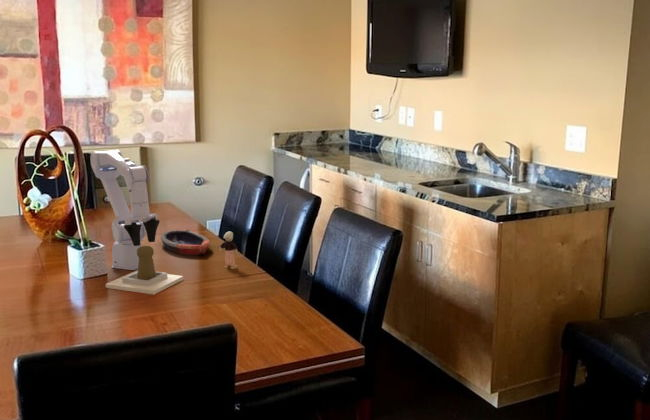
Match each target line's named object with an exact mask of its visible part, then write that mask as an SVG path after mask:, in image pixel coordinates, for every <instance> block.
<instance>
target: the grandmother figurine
mask: <svg viewBox="0 0 650 420" xmlns="http://www.w3.org/2000/svg"><path fill="white" fill-rule="evenodd" d="M223 239H225V241H224V242H222V243H221V245H220V247H219V251H220V252H223V249H224V261H225V266H224V268H225V269H232V270H234V269H237V268H238V265H237V264H236V262H235V261H236V260H235V255H236V256H237V255H239V252H238V248H237V245H236V244H235V243H234V242H233V240H234V233H233V232H232V231H227V232H225V234H224V235H223Z"/></svg>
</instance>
